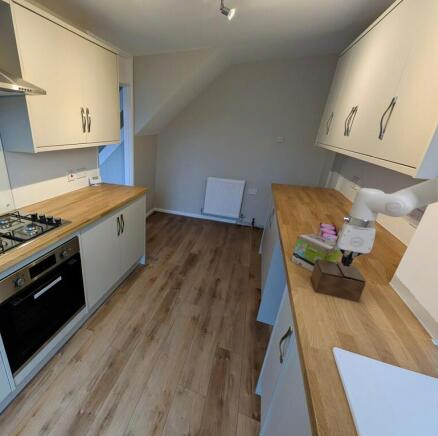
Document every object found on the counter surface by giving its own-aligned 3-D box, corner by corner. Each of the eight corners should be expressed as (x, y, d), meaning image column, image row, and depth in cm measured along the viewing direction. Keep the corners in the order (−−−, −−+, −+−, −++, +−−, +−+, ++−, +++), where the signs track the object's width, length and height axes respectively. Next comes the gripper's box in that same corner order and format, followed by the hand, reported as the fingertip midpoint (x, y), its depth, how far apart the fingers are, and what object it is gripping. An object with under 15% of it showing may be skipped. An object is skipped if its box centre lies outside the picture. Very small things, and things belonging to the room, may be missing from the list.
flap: (355, 266, 98) (355, 266, 98) (365, 281, 88) (366, 281, 88) (336, 261, 100) (336, 261, 100) (344, 276, 90) (344, 275, 90)
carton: (348, 286, 101) (355, 265, 98) (357, 303, 91) (366, 281, 88) (310, 278, 107) (316, 258, 103) (315, 293, 97) (322, 272, 93)
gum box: (313, 242, 141) (319, 221, 137) (329, 246, 137) (336, 224, 133) (314, 259, 122) (321, 235, 118) (333, 264, 118) (341, 239, 114)
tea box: (290, 261, 120) (296, 235, 115) (304, 258, 124) (311, 232, 119) (319, 277, 107) (328, 248, 102) (334, 273, 110) (343, 245, 105)
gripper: (338, 221, 87) (324, 264, 94) (391, 229, 82) (372, 274, 88) (333, 215, 94) (321, 256, 100) (382, 221, 88) (365, 264, 94)
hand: (345, 264), depth 94 cm, fingers closed
